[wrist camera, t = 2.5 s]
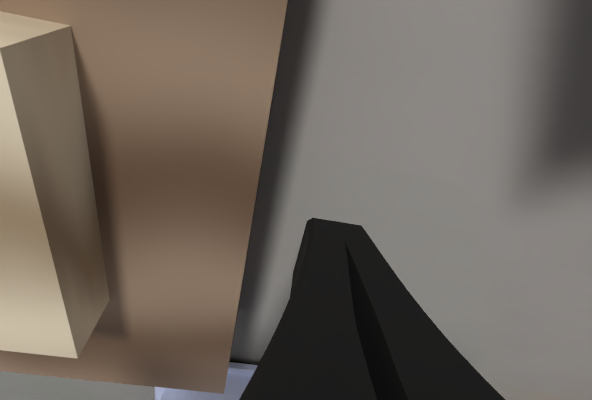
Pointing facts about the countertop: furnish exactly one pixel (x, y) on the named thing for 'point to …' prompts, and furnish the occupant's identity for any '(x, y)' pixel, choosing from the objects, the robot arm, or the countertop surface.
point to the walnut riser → (167, 177)
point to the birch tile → (45, 196)
